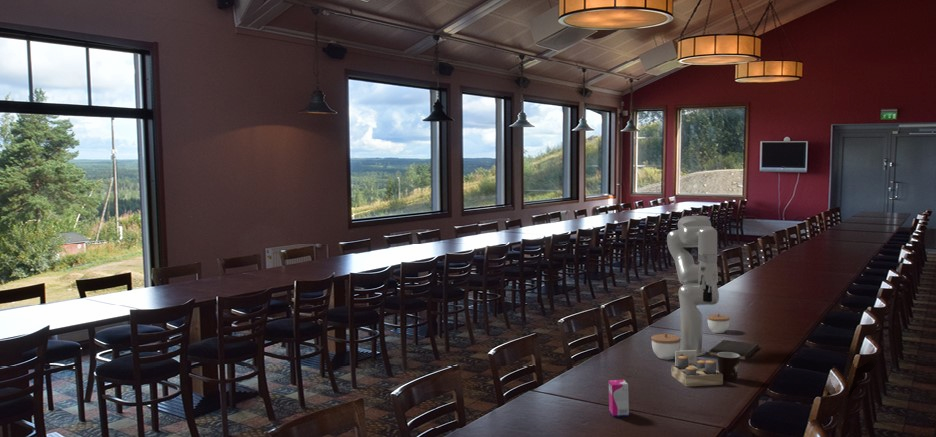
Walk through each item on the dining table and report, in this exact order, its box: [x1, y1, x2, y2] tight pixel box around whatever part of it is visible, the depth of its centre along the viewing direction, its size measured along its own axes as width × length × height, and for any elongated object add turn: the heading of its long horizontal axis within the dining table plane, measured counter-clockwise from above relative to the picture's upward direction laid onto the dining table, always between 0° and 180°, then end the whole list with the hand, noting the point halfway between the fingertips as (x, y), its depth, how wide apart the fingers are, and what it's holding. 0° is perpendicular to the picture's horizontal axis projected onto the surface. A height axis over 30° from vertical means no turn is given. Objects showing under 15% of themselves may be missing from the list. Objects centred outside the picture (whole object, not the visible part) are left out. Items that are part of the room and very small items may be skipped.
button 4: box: [704, 360, 717, 375], centre depth 274 cm, size 4×4×5 cm
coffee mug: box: [716, 352, 741, 383], centre depth 278 cm, size 12×9×10 cm
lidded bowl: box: [650, 332, 681, 360], centre depth 311 cm, size 13×13×11 cm
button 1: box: [677, 356, 688, 370], centre depth 281 cm, size 4×4×5 cm
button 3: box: [696, 359, 706, 369], centre depth 282 cm, size 4×4×5 cm
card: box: [674, 350, 698, 365], centre depth 288 cm, size 1×9×9 cm, turn 95°
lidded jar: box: [706, 313, 730, 334], centre depth 354 cm, size 11×11×9 cm
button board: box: [670, 364, 724, 387], centre depth 278 cm, size 15×15×4 cm
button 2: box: [685, 367, 696, 376], centre depth 274 cm, size 4×4×5 cm
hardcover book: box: [708, 339, 760, 361], centre depth 318 cm, size 16×23×2 cm
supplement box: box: [608, 379, 630, 418], centre depth 242 cm, size 6×6×12 cm
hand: (707, 301), depth 289 cm, fingers closed
